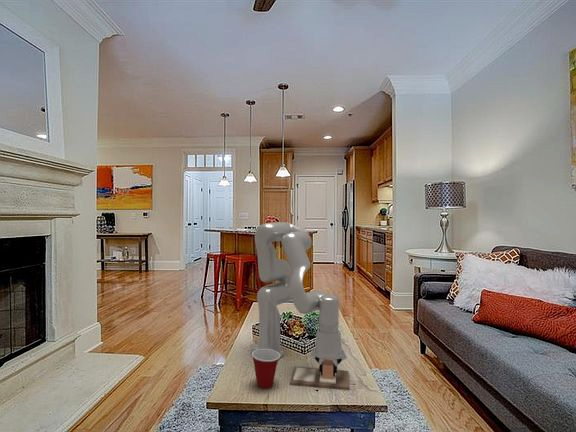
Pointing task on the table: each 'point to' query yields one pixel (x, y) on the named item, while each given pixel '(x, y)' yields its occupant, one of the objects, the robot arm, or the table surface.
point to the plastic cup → (265, 366)
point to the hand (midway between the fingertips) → (328, 373)
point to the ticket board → (318, 378)
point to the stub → (328, 372)
